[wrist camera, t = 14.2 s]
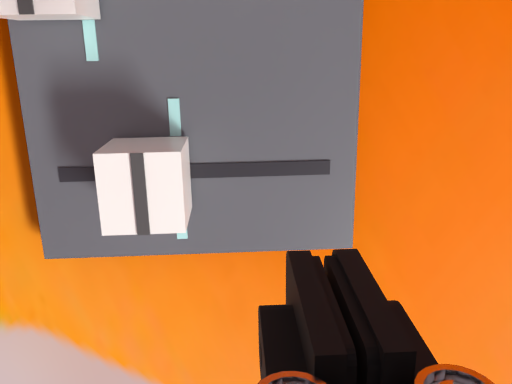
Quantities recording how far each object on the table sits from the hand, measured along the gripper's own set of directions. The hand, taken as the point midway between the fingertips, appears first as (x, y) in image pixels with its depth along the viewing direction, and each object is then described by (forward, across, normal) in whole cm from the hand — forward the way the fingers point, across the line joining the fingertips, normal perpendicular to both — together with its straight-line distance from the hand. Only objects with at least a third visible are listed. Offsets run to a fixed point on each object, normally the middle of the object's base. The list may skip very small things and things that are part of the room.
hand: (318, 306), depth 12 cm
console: (+18, +4, -4) cm, 19 cm away
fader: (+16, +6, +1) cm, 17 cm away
